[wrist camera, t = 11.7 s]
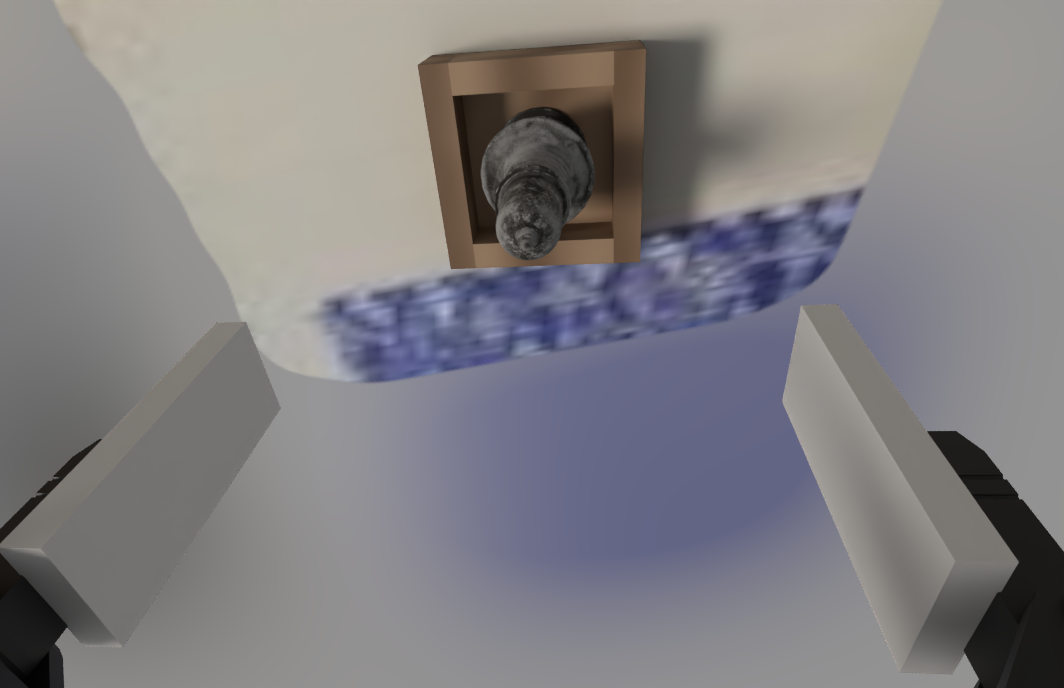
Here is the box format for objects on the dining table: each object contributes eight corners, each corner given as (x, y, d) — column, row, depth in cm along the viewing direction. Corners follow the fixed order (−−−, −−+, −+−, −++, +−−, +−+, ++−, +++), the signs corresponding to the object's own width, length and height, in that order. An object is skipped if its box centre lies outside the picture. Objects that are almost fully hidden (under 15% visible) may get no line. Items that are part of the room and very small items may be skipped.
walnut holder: (640, 40, 31) (646, 48, 28) (635, 238, 37) (640, 261, 34) (431, 55, 32) (417, 65, 29) (460, 245, 38) (450, 268, 35)
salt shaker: (608, 121, 32) (622, 201, 22) (573, 219, 35) (571, 327, 25) (504, 86, 31) (471, 152, 22) (478, 188, 35) (437, 287, 25)
